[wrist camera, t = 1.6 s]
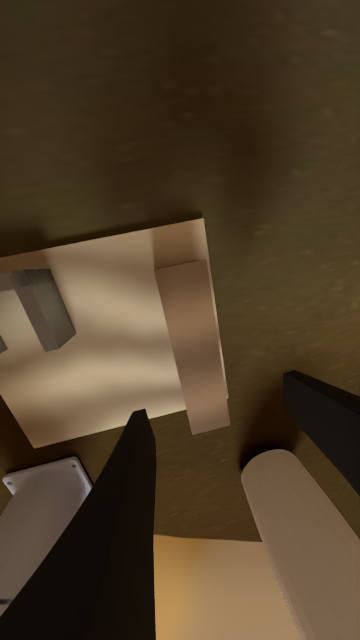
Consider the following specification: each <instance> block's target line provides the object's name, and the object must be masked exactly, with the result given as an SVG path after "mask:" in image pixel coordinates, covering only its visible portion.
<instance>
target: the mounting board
mask: <svg viewBox="0 0 360 640" xmlns="http://www.w3.org/2000/svg"><path fill="white" fill-rule="evenodd" d="M202 259H207V266H208V273H209V280H210V287H211V294H212V301H213V308H214V315H215V322H216V329H217V336H218V343H219V350H220V357H221V364H222V371H223V378H224V385H225V392H226V399H228V392H227V385H226V377H225V370H224V363H223V356H222V348H221V341H220V334H219V327H218V320H217V312H216V305H215V298H214V291H213V284H212V276H211V269H210V262H209V255H208V247H207V240H206V233H205V226H204V219H203V218H202V219H197V220H192V221H186V222H181V223H176V224H171V225H166V226H161V227H156V228H151V229H145V230H140V231H135V232H130V233H125V234H120V235H115V236H110V237H104V238H99V239H94V240H89V241H84V242H79V243H74V244H69V245H63V246H58V247H53V248H48V249H43V250H38V251H33V252H28V253H22V254H17V255H12V256H7V257H2V258H0V274H3V273H8V272H13V271H18V270H24V269H50V270H51V272H52V275H53V277H54V280H55V282H56V285H57V287H58V289H59V292H60V294H61V297H62V299H63V302H64V304H65V307H66V309H67V312H68V314H69V316H70V319H71V321H72V324H73V326H74V329H75V331H76V335H75V336H73V337H72V338H71V339H70V340H69V341H68V342H67V343H65V344H64V345H63V346H62V347H61V348H60V349H57V350H52V351H48V352H45V351H44V349H43V347H42V345H41V343H40V341H39V339H38V337H37V335H36V333H35V331H34V329H33V327H32V324H31V322H30V320H29V318H28V316H27V314H26V312H25V310H24V308H23V306H22V304H21V302H20V300H19V298H18V296H17V293H16V291H15V290H11V291H6V292H1V293H0V335H1V337H2V339H3V341H4V342H5V344H6V346H7V348H8V350H6V351H4V352H2V353H1V354H0V395H1V396H2V398H3V399H4V401H5V403H6V404H7V406H8V407H9V409H10V411H11V412H12V414H13V415H14V417H15V419H16V420H17V422H18V423H19V425H20V427H21V428H22V430H23V432H24V433H25V435H26V436H27V438H28V440H29V441H30V443H31V444H32V446H33V448H34V449H35V448H38V447H42V446H46V445H50V444H54V443H58V442H62V441H66V440H69V439H73V438H77V437H81V436H85V435H89V434H93V433H96V432H100V431H104V430H108V429H112V428H116V427H120V426H123V425H126V424H127V422H128V420H129V418H130V416H131V414H132V412H133V411H137V410H141V409H146V412H147V415H148V418H149V419H150V418H154V417H158V416H162V415H166V414H170V413H174V412H178V411H181V410H185V409H186V405H185V401H184V397H183V392H182V388H181V384H180V380H179V375H178V371H177V367H176V363H175V358H174V354H173V350H172V345H171V341H170V337H169V333H168V328H167V324H166V320H165V316H164V311H163V307H162V303H161V299H160V294H159V290H158V286H157V281H156V277H155V273H154V269H155V268H160V267H165V266H170V265H174V264H179V263H184V262H189V261H194V260H202Z"/></svg>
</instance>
